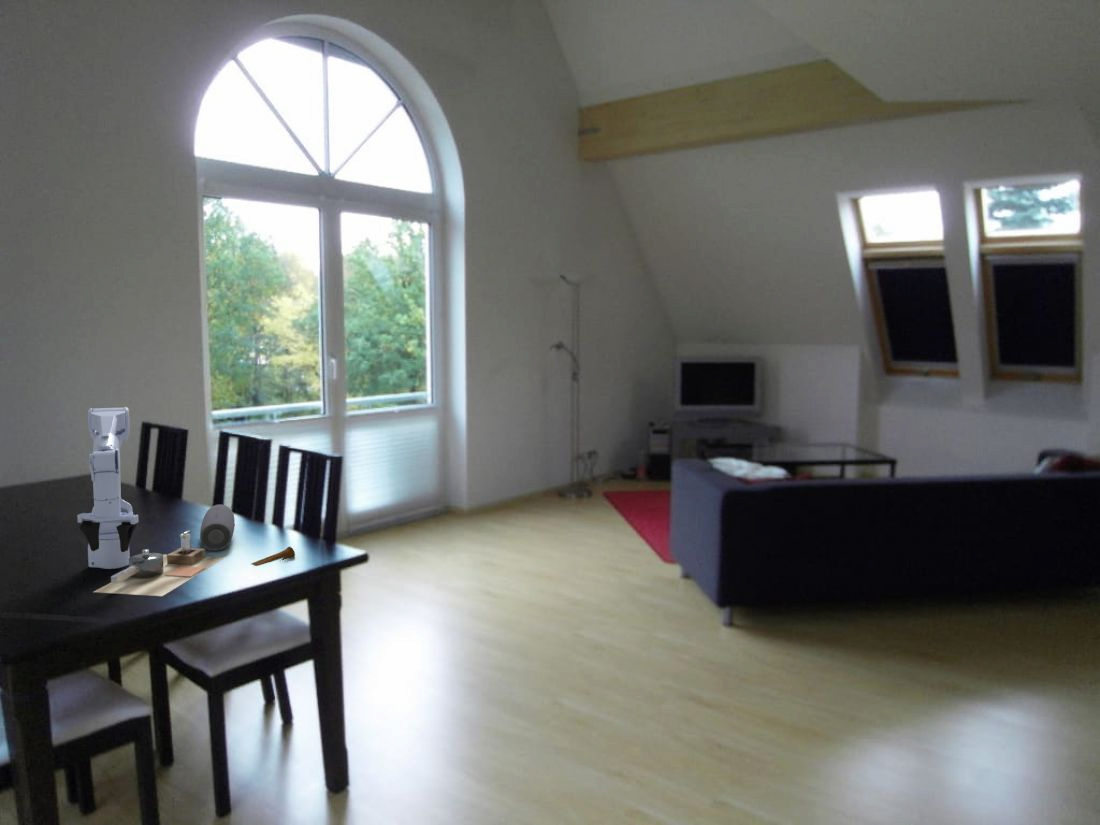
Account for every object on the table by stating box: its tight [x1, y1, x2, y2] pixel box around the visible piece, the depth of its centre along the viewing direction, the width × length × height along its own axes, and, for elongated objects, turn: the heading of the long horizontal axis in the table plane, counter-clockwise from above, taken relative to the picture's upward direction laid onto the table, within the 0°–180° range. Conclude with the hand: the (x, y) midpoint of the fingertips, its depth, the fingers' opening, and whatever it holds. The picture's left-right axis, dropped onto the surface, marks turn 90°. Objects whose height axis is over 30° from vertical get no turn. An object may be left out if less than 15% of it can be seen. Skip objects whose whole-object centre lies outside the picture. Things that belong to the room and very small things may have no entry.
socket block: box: [166, 547, 206, 565], centre depth 219 cm, size 7×7×2 cm
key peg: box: [179, 530, 192, 554], centre depth 218 cm, size 2×4×8 cm, turn 174°
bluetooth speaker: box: [199, 504, 236, 552], centre depth 237 cm, size 23×9×10 cm, turn 20°
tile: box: [165, 566, 205, 577], centre depth 209 cm, size 7×7×1 cm
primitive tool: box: [251, 546, 296, 567], centre depth 220 cm, size 19×6×4 cm, turn 149°
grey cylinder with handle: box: [110, 548, 164, 583], centre depth 202 cm, size 17×8×6 cm, turn 174°
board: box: [93, 553, 225, 597], centre depth 208 cm, size 18×30×1 cm, turn 174°
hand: (109, 550), depth 200 cm, fingers open, 7 cm apart
